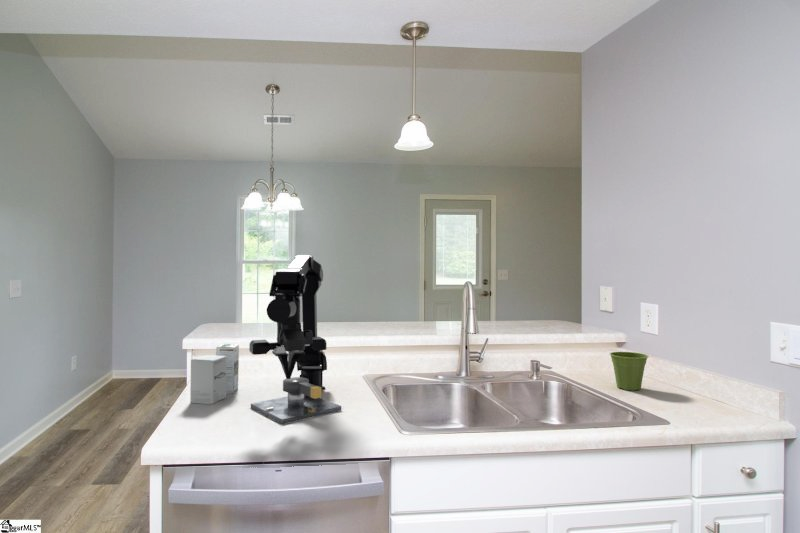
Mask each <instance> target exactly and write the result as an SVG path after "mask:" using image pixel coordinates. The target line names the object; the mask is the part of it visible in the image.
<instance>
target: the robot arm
mask: <svg viewBox="0 0 800 533" xmlns="http://www.w3.org/2000/svg"><path fill="white" fill-rule="evenodd" d="M272 276H273V277H272V281H271V285H270V290H269V295H268V296H269V297H274V299H272V300H271V301H270V302H269V303H268V305H267V308H266V314H267V317H268V318H269V320H271V321H272V322H274V323H276V327H277V328H276V331H277V332H276V333H277V336H276V342H269V341H268V340H267V339H253V340H251V341H250V342H249V345H248V346H249V349H248V350H249V352H250V353H251V355H256V356H257V355H267V353H269V352H270V351H272V352H271V353H272V354H273V356H275V357H277V358H278V360H279V362H280V364H281V368H282V370H283V372H284V376H285V379H290V378H292V374H293V372H294V369H295V367H296V368H297V369H296V370H297V372H299V371H300V374H299V377H301V378H307V379H309V383H310V384H313V385H315V386H319V387H322V390H324V389H326V386H323V380H324V379H323V372H324V371H327V370H328V363H327V362H328V361H327V356H326V354H325V352H324V351H326V350H327V340H326V339H325V338H323V337H321V336H318V307H317V304H318V303H317V294H318V292H319V290H320V289H321V286H322V282H323V281H324V271H323V267H322V264H321V263H319V262H318V261H316V260H315V259H314V256H313V255H310V254H309V255H308V254H299V255H294V259H293V261H292V262H291V263H290V264H289V265H288V267H281V268H279V269H277V270H276V271H275V273H274V274H273V275H272ZM301 304H302V306H301ZM301 308H302V311H301ZM301 312H302V313H301ZM301 314H302V323H301Z"/></svg>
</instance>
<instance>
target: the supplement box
mask: <svg viewBox="0 0 800 533" xmlns="http://www.w3.org/2000/svg"><path fill="white" fill-rule="evenodd" d="M226 357H227V356H216V355H215V354H214V355H211V354H210V355H209V354H207V355H202V356H199V357H194V358H193V359H190V392H189V393H190V399H189V400H190V402H189V403H192V404H193V403H194V404H203V405H205V404H206V405H213V404H215V403H217V402H219V401H221V400H223V399H226V398H227V394H226Z"/></svg>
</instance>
